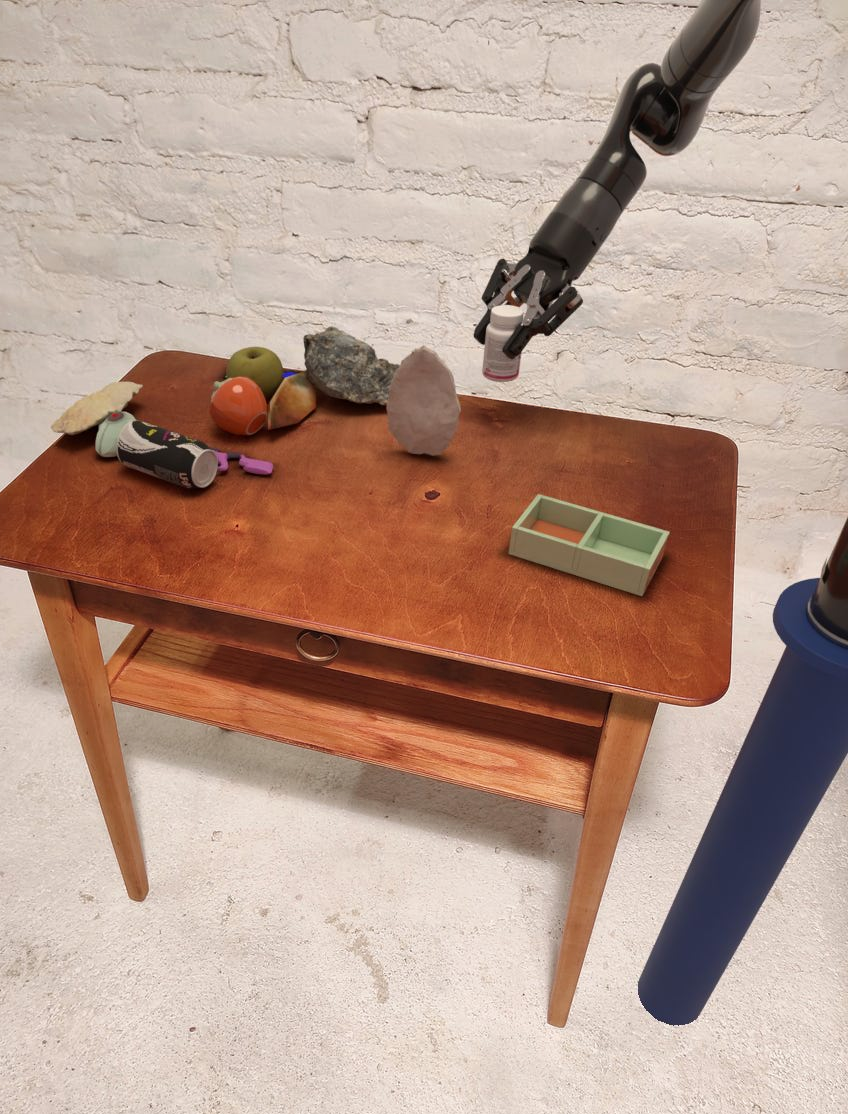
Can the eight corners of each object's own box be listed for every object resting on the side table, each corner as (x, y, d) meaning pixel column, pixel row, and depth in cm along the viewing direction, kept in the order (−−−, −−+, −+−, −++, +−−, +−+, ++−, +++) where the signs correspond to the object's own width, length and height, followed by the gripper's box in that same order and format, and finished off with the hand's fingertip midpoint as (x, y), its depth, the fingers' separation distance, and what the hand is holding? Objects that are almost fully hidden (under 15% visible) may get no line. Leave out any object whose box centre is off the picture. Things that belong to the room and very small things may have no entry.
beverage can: (147, 417, 108) (224, 443, 103) (142, 463, 110) (218, 490, 106) (113, 419, 103) (193, 446, 99) (109, 466, 105) (187, 495, 101)
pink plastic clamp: (280, 462, 107) (258, 478, 104) (280, 469, 108) (258, 485, 104) (145, 425, 114) (119, 439, 110) (145, 432, 115) (120, 445, 111)
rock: (409, 337, 114) (357, 378, 110) (415, 398, 122) (367, 439, 118) (331, 303, 120) (280, 341, 117) (342, 363, 128) (294, 401, 125)
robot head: (129, 471, 107) (161, 435, 110) (114, 445, 104) (148, 409, 107) (84, 460, 111) (116, 425, 114) (68, 435, 108) (101, 400, 111)
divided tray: (662, 558, 95) (670, 531, 92) (642, 596, 90) (650, 569, 87) (533, 519, 100) (538, 493, 98) (508, 554, 95) (512, 527, 93)
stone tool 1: (91, 450, 109) (160, 398, 119) (79, 419, 106) (150, 369, 116) (41, 447, 112) (112, 397, 122) (28, 417, 110) (102, 369, 120)
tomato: (283, 412, 115) (243, 372, 117) (269, 392, 108) (225, 350, 109) (244, 452, 116) (204, 412, 117) (227, 435, 108) (184, 393, 110)
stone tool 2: (457, 454, 111) (468, 338, 101) (455, 467, 109) (466, 350, 99) (386, 447, 112) (389, 332, 102) (382, 459, 110) (385, 343, 100)
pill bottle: (524, 381, 113) (532, 315, 107) (489, 384, 112) (496, 319, 106) (510, 366, 116) (518, 301, 111) (476, 369, 115) (482, 305, 110)
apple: (220, 411, 118) (214, 361, 114) (243, 386, 124) (238, 337, 120) (272, 419, 117) (269, 368, 112) (293, 394, 123) (291, 344, 118)
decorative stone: (256, 393, 109) (239, 401, 111) (276, 436, 111) (259, 442, 113) (313, 363, 120) (296, 370, 121) (330, 403, 121) (314, 409, 123)
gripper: (521, 197, 109) (441, 314, 112) (608, 225, 101) (518, 351, 103) (546, 234, 115) (469, 345, 118) (630, 264, 106) (544, 383, 109)
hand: (492, 347), depth 110 cm, fingers closed on pill bottle, 4 cm apart
